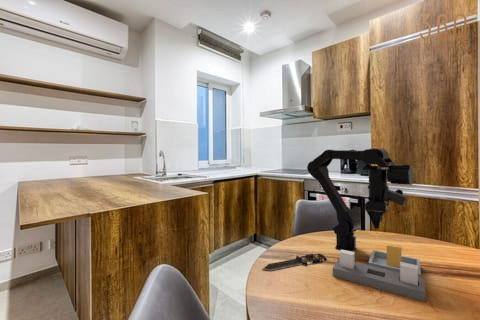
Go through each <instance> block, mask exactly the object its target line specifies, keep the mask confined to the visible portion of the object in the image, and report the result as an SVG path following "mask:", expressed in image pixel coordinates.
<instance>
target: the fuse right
mask: <svg viewBox="0 0 480 320" xmlns="http://www.w3.org/2000/svg"><path fill="white" fill-rule="evenodd" d="M400 281H401V282H405V283H409V284H413V285H417V286H418V265H414V264H409V263H404V262H400Z"/></svg>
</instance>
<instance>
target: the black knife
mask: <svg viewBox="0 0 480 320" xmlns="http://www.w3.org/2000/svg"><path fill="white" fill-rule="evenodd" d="M317 255H318V256H317ZM311 256H313V258H312V257H311ZM316 256H317V257H316ZM305 257H308V260H303V258H305ZM323 259H324V260H323ZM327 259H328V258H327V257H326V256H325V255H324V254H322V253H309V254H305V255H302V256H299V255H296V256H295V258H294V259H293V258H292V259H288V260H287V259H286V260H283V261H282V260H281V261H278V262H272V263H268V264H267V265H266V266H264V268H262V269H261V271H269V272H270V271H271V272H272V271H275V270H281V269H287V268H292V267H295V266H296V267H297V266H300V265H302V264H306V265H308V263H309V262H311V261H312V264H316V263H317V262H318V263H320V262H321V261H322V260H323V261H327ZM302 266H303V265H302Z"/></svg>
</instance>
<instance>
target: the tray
mask: <svg viewBox="0 0 480 320" xmlns="http://www.w3.org/2000/svg"><path fill="white" fill-rule="evenodd" d="M402 262H404V263H409V264H414V265H418V277H421V278H422V273H421V260H420V258H415V257H412V256H411V257H410V256H406V255H402ZM367 265H370V266H374V267H378V268H382V269H387V270H391V271H395V272H400V268H396V267H392V266H387V251H380V250H375V249H373V250H372V252H371V254H370V257H369V259H368V264H367Z"/></svg>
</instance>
